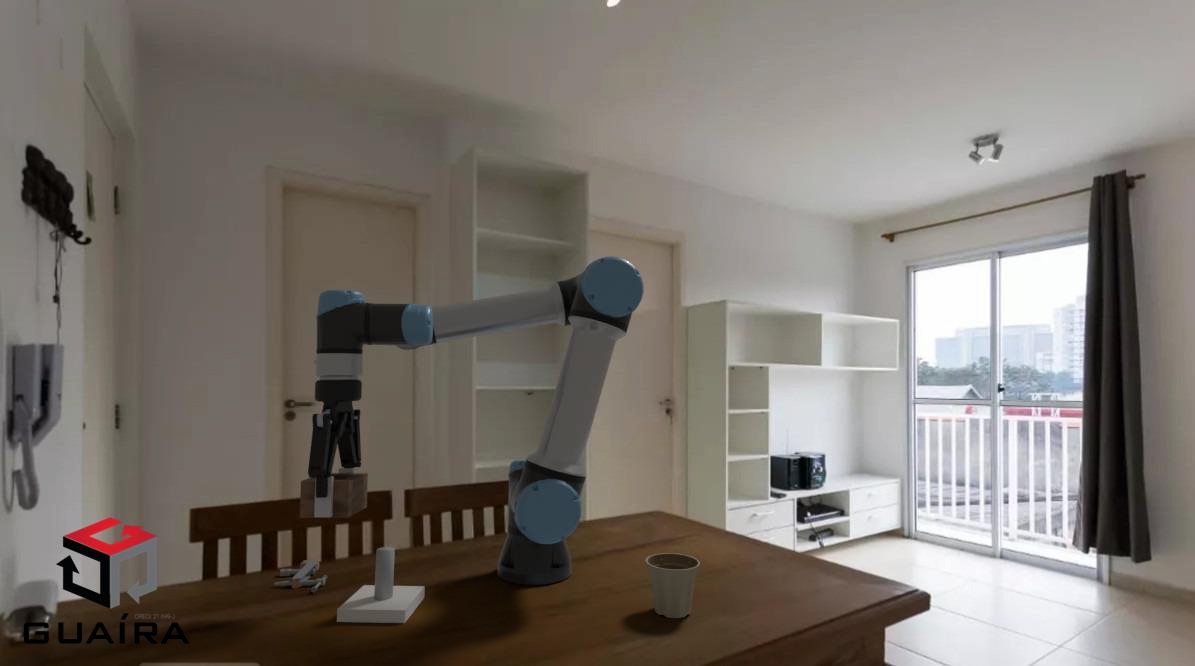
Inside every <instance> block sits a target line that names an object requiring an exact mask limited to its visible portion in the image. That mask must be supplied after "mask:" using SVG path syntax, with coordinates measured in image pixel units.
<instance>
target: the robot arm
mask: <svg viewBox="0 0 1195 666" xmlns="http://www.w3.org/2000/svg"><path fill="white" fill-rule="evenodd" d="M643 296H644V282H643V279H642V275H641V274H640V271H639V270H638V268H636V266H635V265H634V264H633V263H632V262H630V261H628V260H626V259H625V258H623V257H619V256H612V255H611V256H605V257H600V258H598V259H595V260H593V261H592V262H591V263H589V264H588V266H586V268H585V269H584V270H583V271H582V272H581V273H580V274H578V275H576V276H573V277H571V278H568V279H564V280H559V281H554V282H553V284H552V285H551V286H550V287H546V288H540V289H534V290H527V291H522V292H516V293H510V294H503V295H498V296H492V297H491V296H490V297H485V298H479V299H473V300H466V301H462V302H455V303H447V304H445V305H444V304H441V305H437V306H430V305H429V304H421V303H420V304H419V303H415V302H410V303H373V302H370V303H369V302H367V301H366V300H365V296H364V294H363V293H362V292H360V291H357V290H348V289H327V290H323V291H322V292H321V293H320V294H319V296H318V304H317V314H316V316H315V317H316V351H315V352H316V356H315V357H316V358H315V360H314V361H313V364H314V365H315V376H316V377H318V378H319V379H317V380H316V381H315V382H314V400H315V401H316V402H321V403H323V405H322V410H321V413H313V414H312V416H311V419H312V433H311V442H310V451H309V458H308V459H309V460H308V467H307V470H308V471H307V475H308V478H311V477H315V508H314V517H332V516H333V485H334V476H331V473H332V471H333V467H334V462H335V456H336V453H337V448H338V454H339V459H340V466H341V468H338V473H356V468H361V466H362V447H361V428H360V424H361V423H360V422H361V421H360V419H361V409H356V408H355V409H354V407H353V406H354V405H353V402H357V401H358V402H359V401H360V400H362V397H363V396H362V395H363V394H362V393H363V391H362V390H363V389H362V387H363V382H362V380H361V379H360V377H362V376H363V363H364V362H363V361H364V360H363V359H364V357H363V356H364V355H363V352H364V351H363V348H364V346H366V345H367V346H373V345H374V346H396V347H397V348H399V349H401V350H405V351H409V350H415V349H418V348H420V347H425V346H430V345H434V344H441V343H446V342H452V341H459V340H464V339H469V338H475V337H481V336H487V335H493V334H498V333H504V332H509V331H516V330H521V329H525V328H526V329H527V328H532V327H538V326H543V325H550V324H558V326H561V327H565V326H566V327H567V326H570V325H571V327H572V333H571V335H570V338H569V342H568V346H567V349H566V352H565V356H564V358H563V361H562V366H561V369H560V372H559V376H558V380H557V383H556V386H555V390H554V392H553V397H552V399H551V403H550V406H549V410H548V413H547V417H546V421H545V424H544V427H543V430H542V433H541V437H540V441H539V443H538V447H537V449H536V451H535V452H533V453H532V454H530V455H528V456H526V459H517V460H512V462H510V464H509V472H508V474H507V477H508V503H507V506H508V507H507V510H508V511H507V532H506V533H507V534H506V538H505V541H504V544H503V547H502V550H501V553H500V556H499V558H498V562H497V576H498V578H500V579H501V580H503V581H505V582H507V583H512V584H516V585H527V586H539V585H548V584H549V585H550V584H554V583H558V582H562V581H564V580H566V579H568V578H569V577H570V576H571V575H572V567H573V566H572V558H571V555H570V551H569V547H568V544H567V541H566V540H567V538H568V537H570V535H572V534H573V532H574V531H576V529H577V527H578V525H579V523H580V522H581V516H582V501H581V495H582V493H583V492H582V491H583V488H584V486H585V485H584V484H585V481H586V479H587V472H586V471H585V468H584V466H583V465H582V464H583V463H582V462H583V458H584V454H585V451H586V447H587V444H588V441H589V438H590V433H591V431H592V430H591V429H592V426H593V423H594V419H595V416H596V412H597V409H598V405H599V402H600V398H601V396H602V392H603V389H604V384H605V381H606V378H607V374H608V370H609V367H610V364H611V359H612V356H613V353H614V349H615V347H616V346H615V345H616V343H617V342H618V341H619V340H620V339H622V338H624V337H626V336H627V333H628V329H629V325H630V323H631V319H632V315H633V313H634V312H635V311H636V310H637V308H638V307H639V305H640V303H641V302H642V300H643Z"/></svg>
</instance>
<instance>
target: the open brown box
mask: <svg viewBox="0 0 1195 666" xmlns="http://www.w3.org/2000/svg"><path fill="white" fill-rule="evenodd" d="M331 476H334V485H333V516H332V517H314V508H315V477H308V478H305V479H304V480H301V481H300V494H299V495H300V496H299V497H300V499H299V500H300V502H299V519H349V518H350V517H352V516H354V515H356V514H357V513H359V512H361V511H363V510H364V509H366V508H368V485H369V484H368V481H369V480H368V479H369V474H368V472H365V473H364V472H362V473H361V472H355V473H339V472H338V473H337V472H335V473H334V472H333V473H332V472H331Z"/></svg>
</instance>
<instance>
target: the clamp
mask: <svg viewBox="0 0 1195 666" xmlns="http://www.w3.org/2000/svg"><path fill="white" fill-rule="evenodd" d="M299 566H300V567H299V569H294V568H282V569H280V570H279V577H290V576H292V578H291V580H284V581H277V582H274V586H285V587H287V586H290V587H291V589H298V588H301V587H302V586H310V585H313V586H312V587H311V588H310V589H311V590H310V591H311V592H312V593H316V592H317V591H318V588H319V587H320V586H321V587H322V586H323V587H324V586H325V585H326V581H327V579H328V575H327V574H323V575H322V577H321V578H316V579H312V580H311V579H310V578H311V576H313V575H315V573H316V571H318V570H319V569H320V561H319V560H318V559H317V560H316V559H313V560H312V559H311V560H310V559H309V560H305V559H304V560H302V562H300V565H299ZM293 575H294V576H293ZM314 585H315V586H314Z"/></svg>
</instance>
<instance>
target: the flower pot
mask: <svg viewBox="0 0 1195 666" xmlns="http://www.w3.org/2000/svg"><path fill="white" fill-rule="evenodd" d="M645 564H646V565H647V569H648V572H649V574H650V576H649V577H650V582H651V583H650V584H651V589H652V596H653V598H652V599H653V606H654V612H655V613H656V614H657V615H659V616H660V615H663V616H664V617H665V618H667V619H683V618H685V617H686V616H688V615H690V614H691V613H692V612H691V611H692V602H693V595H694V587H695V580H696V576H697V574H698V568H700V565H701V562H700V560H698V559H697V558H695V557H694V556H691V555H687V554H682V553H678V552H677V553H674V552H673V553H672V552H664V553H663V552H661V553H654V554H651V555H649V556H647V557H646V558H645Z"/></svg>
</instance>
